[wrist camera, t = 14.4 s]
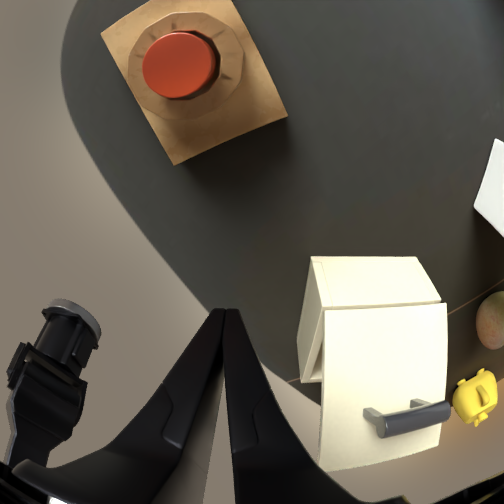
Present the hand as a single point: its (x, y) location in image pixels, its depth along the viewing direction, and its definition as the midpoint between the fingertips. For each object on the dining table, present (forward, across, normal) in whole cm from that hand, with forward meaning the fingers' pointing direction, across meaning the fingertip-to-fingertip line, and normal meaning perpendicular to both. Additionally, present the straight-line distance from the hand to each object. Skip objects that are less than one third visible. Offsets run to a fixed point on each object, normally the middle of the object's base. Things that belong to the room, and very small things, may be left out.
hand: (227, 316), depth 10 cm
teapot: (+13, -49, +42) cm, 66 cm away
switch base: (+13, +3, -8) cm, 16 cm away
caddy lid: (+2, -11, +11) cm, 16 cm away
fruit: (+13, -33, +15) cm, 39 cm away
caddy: (+13, -11, +13) cm, 21 cm away
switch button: (+10, +3, -8) cm, 13 cm away
